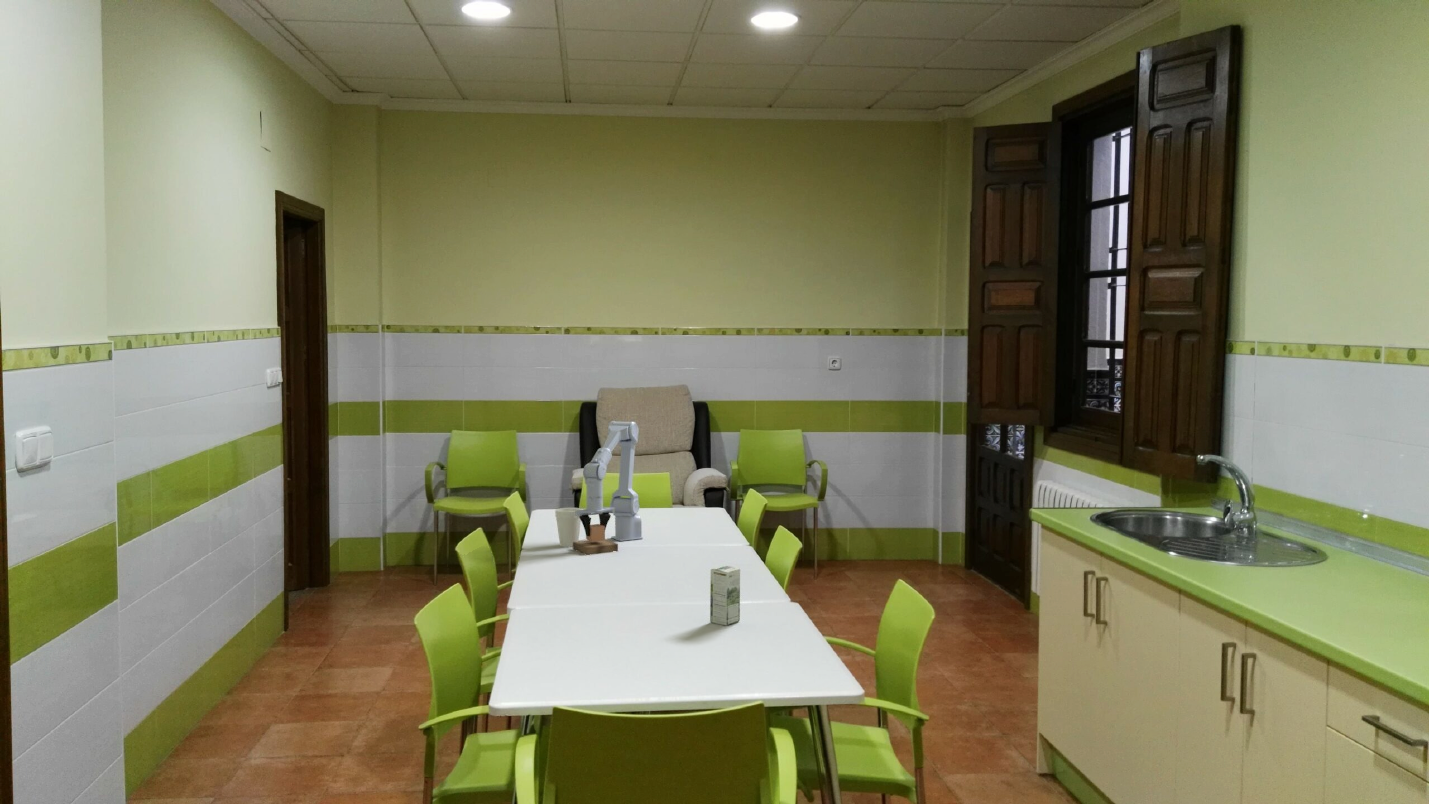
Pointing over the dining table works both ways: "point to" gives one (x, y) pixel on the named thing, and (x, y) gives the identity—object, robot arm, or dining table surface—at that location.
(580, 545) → the walnut plinth
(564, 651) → the dining table surface
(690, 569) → the dining table surface
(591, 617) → the dining table surface
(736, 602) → the syrup box
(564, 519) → the foam cup
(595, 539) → the terracotta block
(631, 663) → the dining table surface
